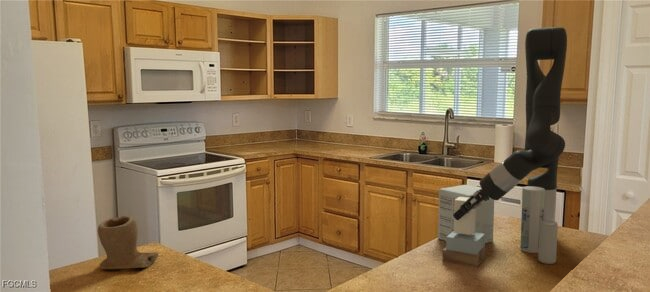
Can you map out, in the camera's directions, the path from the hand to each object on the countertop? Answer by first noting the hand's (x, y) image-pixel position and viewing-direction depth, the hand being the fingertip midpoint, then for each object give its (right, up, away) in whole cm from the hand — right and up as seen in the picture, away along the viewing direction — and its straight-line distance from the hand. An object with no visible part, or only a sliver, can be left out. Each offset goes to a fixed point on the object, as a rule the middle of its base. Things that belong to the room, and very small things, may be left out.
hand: (459, 215), depth 153 cm
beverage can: (+25, -14, -2) cm, 29 cm away
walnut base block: (+2, -14, 0) cm, 14 cm away
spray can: (+25, -12, +8) cm, 29 cm away
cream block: (+1, -5, 0) cm, 5 cm away
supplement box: (+7, -11, +19) cm, 23 cm away
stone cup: (-98, -15, -5) cm, 99 cm away
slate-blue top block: (+2, -10, 0) cm, 10 cm away
